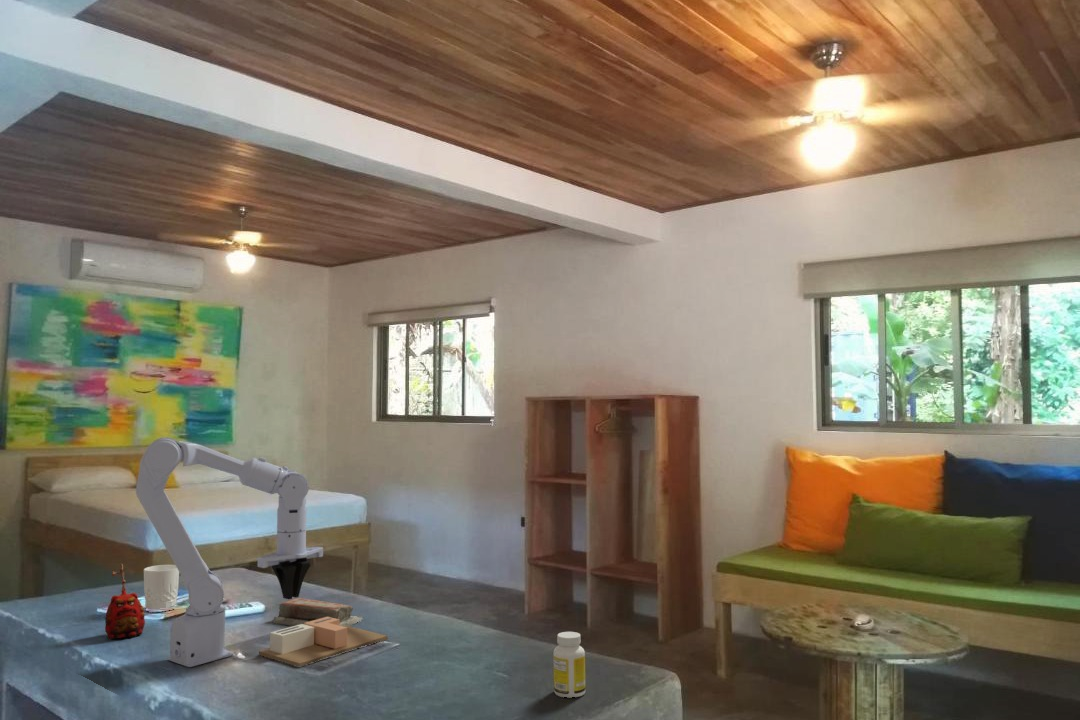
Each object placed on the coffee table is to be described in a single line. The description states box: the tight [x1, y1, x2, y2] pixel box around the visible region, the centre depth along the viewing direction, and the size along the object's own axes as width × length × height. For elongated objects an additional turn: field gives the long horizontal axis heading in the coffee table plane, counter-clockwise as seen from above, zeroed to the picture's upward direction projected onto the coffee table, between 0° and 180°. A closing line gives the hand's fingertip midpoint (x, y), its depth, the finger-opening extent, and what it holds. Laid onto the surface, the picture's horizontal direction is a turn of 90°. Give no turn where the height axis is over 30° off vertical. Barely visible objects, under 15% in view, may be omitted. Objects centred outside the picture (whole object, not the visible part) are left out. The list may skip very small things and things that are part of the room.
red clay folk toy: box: [104, 563, 146, 640], centre depth 173 cm, size 8×7×15 cm
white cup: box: [143, 564, 180, 609], centre depth 194 cm, size 8×8×10 cm
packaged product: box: [273, 597, 364, 627], centre depth 183 cm, size 18×5×10 cm
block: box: [304, 617, 347, 649], centre depth 165 cm, size 6×10×4 cm, turn 53°
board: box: [258, 626, 389, 666], centre depth 163 cm, size 22×13×1 cm, turn 143°
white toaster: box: [269, 624, 314, 654], centre depth 161 cm, size 8×4×4 cm, turn 143°
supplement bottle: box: [552, 631, 586, 699], centre depth 137 cm, size 5×5×10 cm
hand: (290, 597), depth 164 cm, fingers closed
